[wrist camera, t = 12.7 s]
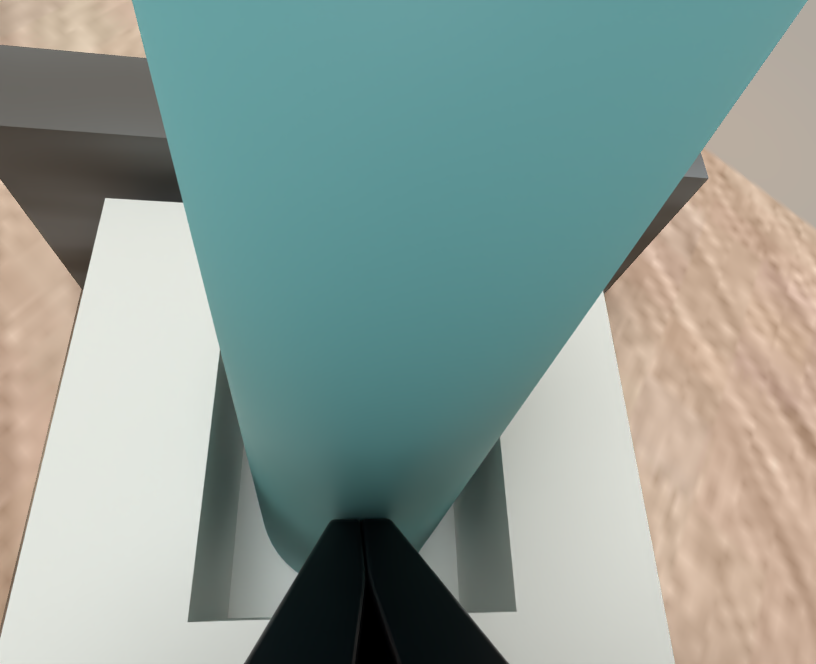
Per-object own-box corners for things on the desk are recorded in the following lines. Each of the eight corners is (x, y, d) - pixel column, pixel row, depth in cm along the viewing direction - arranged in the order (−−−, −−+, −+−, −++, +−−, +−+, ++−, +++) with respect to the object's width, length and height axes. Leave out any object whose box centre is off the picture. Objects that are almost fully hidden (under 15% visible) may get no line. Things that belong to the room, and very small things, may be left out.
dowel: (461, 553, 13) (1172, -165, 2) (285, 616, 12) (38, -238, 1) (402, 398, 15) (643, -399, 4) (245, 439, 14) (12, -517, 3)
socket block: (572, 734, 13) (701, 796, 9) (87, 764, 11) (-53, 857, 7) (522, 323, 17) (590, 227, 13) (163, 310, 16) (105, 197, 11)
